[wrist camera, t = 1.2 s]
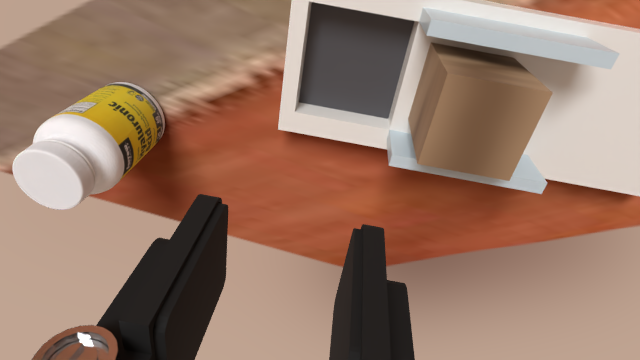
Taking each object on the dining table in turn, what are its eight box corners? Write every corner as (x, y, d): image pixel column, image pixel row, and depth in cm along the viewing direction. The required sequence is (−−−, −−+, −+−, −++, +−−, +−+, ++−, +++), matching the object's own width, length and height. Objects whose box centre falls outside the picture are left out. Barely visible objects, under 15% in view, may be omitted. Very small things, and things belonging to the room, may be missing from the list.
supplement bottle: (179, 139, 31) (112, 214, 23) (119, 150, 33) (35, 226, 24) (148, 72, 29) (60, 131, 21) (84, 87, 30) (-24, 148, 22)
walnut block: (513, 57, 24) (552, 92, 19) (482, 132, 27) (509, 180, 21) (430, 42, 24) (447, 73, 19) (408, 118, 27) (417, 163, 21)
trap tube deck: (725, 44, 24) (810, 72, 19) (630, 182, 30) (679, 229, 25) (300, -34, 24) (284, -24, 20) (283, 117, 30) (267, 153, 25)
